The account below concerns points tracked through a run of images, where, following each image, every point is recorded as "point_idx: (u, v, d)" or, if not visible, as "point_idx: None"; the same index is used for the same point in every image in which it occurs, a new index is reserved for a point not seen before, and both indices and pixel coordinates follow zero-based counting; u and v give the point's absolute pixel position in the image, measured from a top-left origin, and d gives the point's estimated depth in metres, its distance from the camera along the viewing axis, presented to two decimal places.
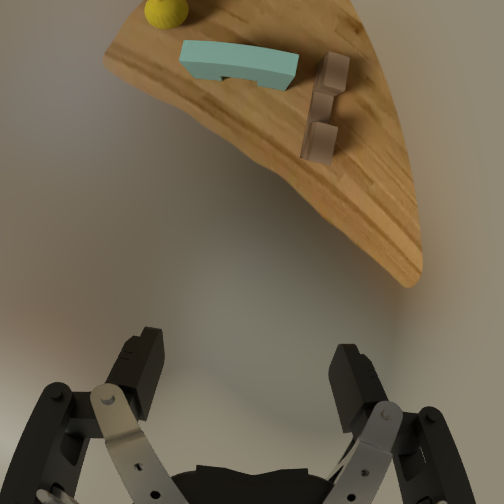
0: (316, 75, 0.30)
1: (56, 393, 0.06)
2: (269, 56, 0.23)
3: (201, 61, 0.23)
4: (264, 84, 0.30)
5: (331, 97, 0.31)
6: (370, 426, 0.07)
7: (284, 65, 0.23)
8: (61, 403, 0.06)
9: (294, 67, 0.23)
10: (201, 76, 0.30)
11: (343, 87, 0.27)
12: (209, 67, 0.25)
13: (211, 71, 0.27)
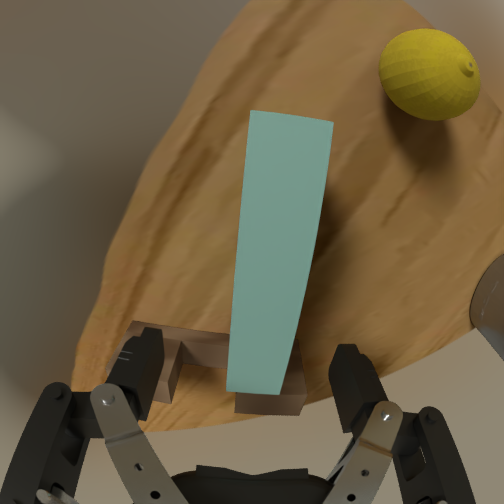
0: None
1: (56, 393, 0.06)
2: (268, 353, 0.11)
3: (244, 186, 0.09)
4: None
5: None
6: (370, 426, 0.07)
7: (247, 376, 0.12)
8: (61, 403, 0.06)
9: (246, 390, 0.12)
10: None
11: (240, 411, 0.17)
12: None
13: None
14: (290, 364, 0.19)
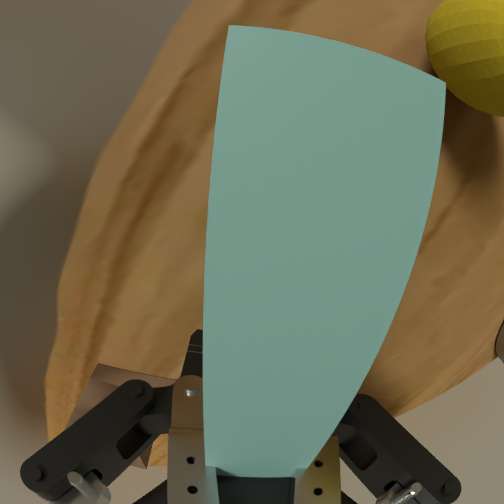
0: None
1: (135, 391, 0.08)
2: None
3: (209, 244, 0.03)
4: None
5: None
6: None
7: None
8: (143, 400, 0.07)
9: None
10: None
11: None
12: None
13: None
14: None
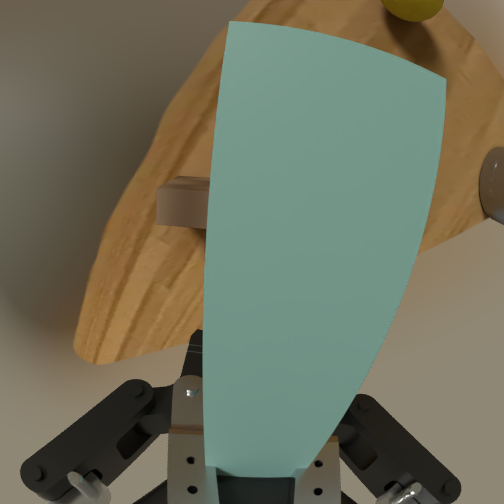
0: None
1: (135, 390, 0.08)
2: None
3: (209, 241, 0.03)
4: None
5: None
6: None
7: None
8: (143, 400, 0.07)
9: None
10: None
11: None
12: None
13: None
14: None
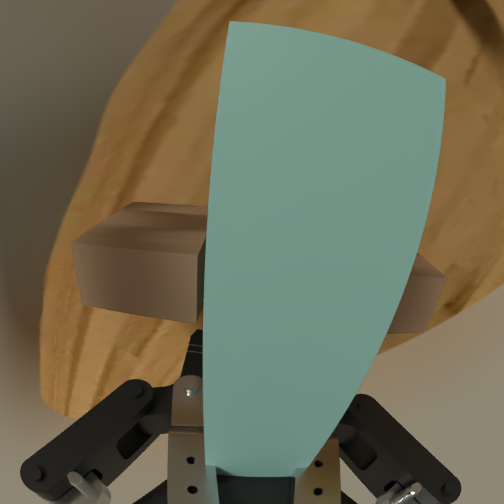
0: None
1: (135, 390, 0.08)
2: None
3: (209, 240, 0.03)
4: None
5: None
6: None
7: None
8: (143, 400, 0.07)
9: None
10: None
11: None
12: None
13: None
14: None
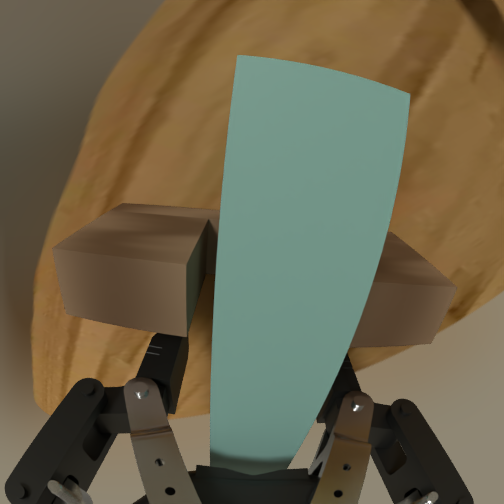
0: None
1: (87, 389, 0.07)
2: (266, 452, 0.07)
3: (221, 223, 0.04)
4: None
5: None
6: (338, 415, 0.08)
7: (238, 468, 0.07)
8: (94, 399, 0.07)
9: None
10: None
11: None
12: None
13: None
14: (404, 252, 0.11)
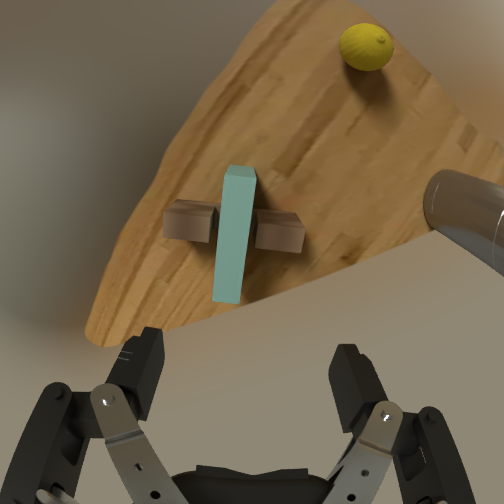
0: (278, 212, 0.32)
1: (55, 393, 0.06)
2: (232, 276, 0.26)
3: (221, 203, 0.23)
4: None
5: (251, 230, 0.32)
6: (370, 426, 0.07)
7: (223, 291, 0.26)
8: (61, 403, 0.06)
9: (222, 300, 0.27)
10: None
11: (259, 246, 0.28)
12: None
13: None
14: (292, 219, 0.30)
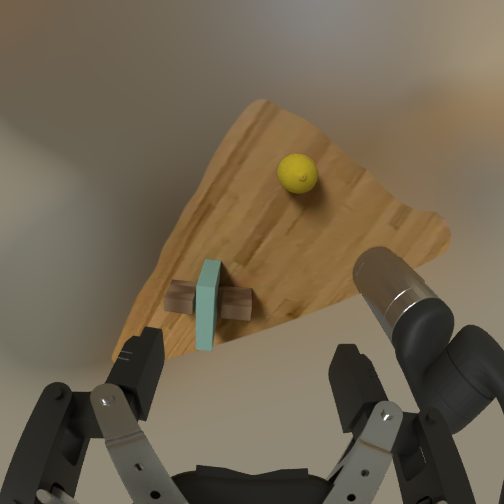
0: (239, 289, 0.48)
1: (55, 393, 0.06)
2: (206, 337, 0.42)
3: (196, 300, 0.39)
4: None
5: (221, 301, 0.48)
6: (370, 426, 0.07)
7: (201, 344, 0.42)
8: (61, 403, 0.06)
9: (201, 349, 0.43)
10: None
11: (223, 317, 0.44)
12: None
13: None
14: (246, 296, 0.46)
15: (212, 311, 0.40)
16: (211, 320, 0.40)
